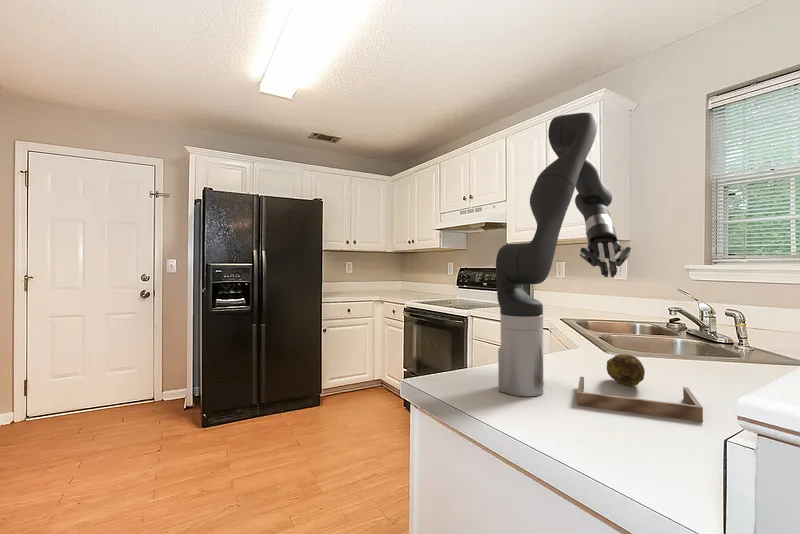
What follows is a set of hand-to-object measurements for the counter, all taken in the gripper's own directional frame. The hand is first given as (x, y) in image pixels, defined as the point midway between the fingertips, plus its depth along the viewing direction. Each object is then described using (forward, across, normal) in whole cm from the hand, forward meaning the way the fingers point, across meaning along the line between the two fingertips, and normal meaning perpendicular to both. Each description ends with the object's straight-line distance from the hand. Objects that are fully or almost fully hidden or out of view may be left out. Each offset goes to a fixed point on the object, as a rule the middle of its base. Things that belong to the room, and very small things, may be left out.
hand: (609, 274), depth 106 cm
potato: (+27, 0, +10) cm, 29 cm away
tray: (+35, -1, +1) cm, 35 cm away
